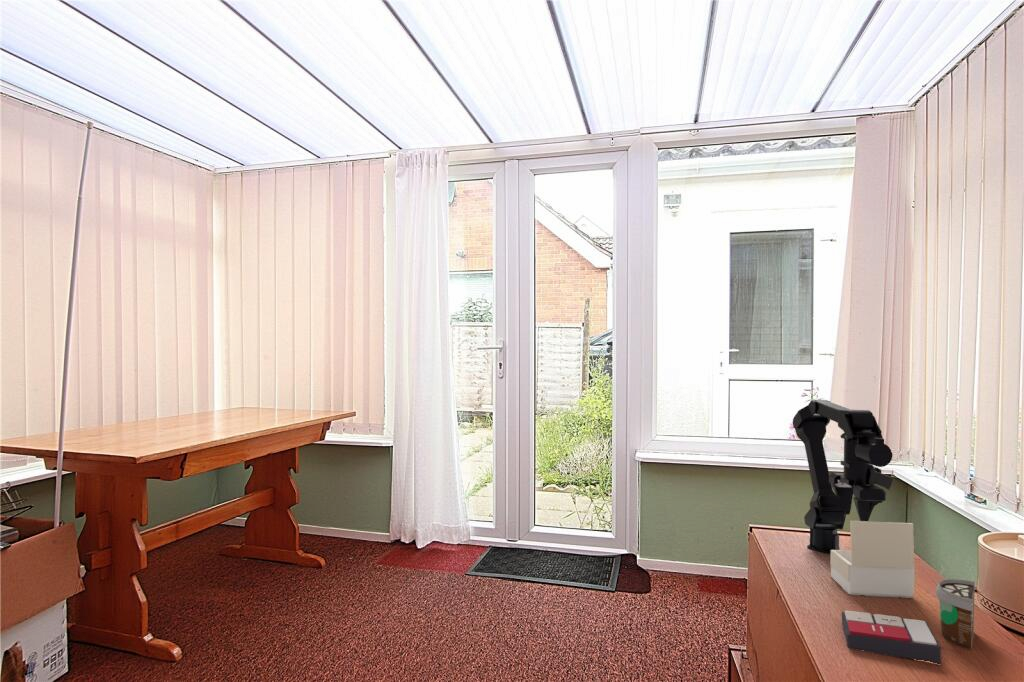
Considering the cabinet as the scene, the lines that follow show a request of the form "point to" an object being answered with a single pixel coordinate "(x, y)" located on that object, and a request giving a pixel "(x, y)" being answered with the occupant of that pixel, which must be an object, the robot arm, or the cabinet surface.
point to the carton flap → (882, 544)
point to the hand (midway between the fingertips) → (855, 519)
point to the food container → (957, 611)
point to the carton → (871, 578)
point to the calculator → (890, 636)
